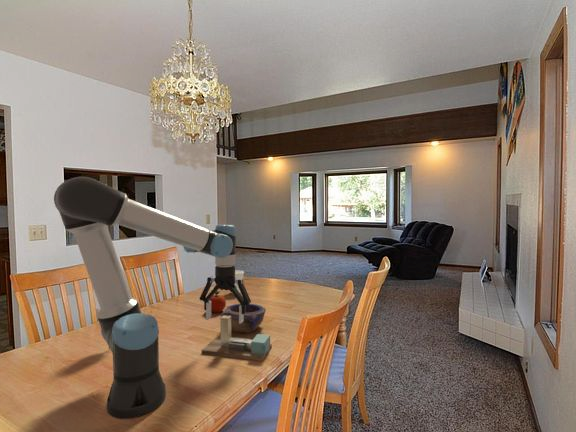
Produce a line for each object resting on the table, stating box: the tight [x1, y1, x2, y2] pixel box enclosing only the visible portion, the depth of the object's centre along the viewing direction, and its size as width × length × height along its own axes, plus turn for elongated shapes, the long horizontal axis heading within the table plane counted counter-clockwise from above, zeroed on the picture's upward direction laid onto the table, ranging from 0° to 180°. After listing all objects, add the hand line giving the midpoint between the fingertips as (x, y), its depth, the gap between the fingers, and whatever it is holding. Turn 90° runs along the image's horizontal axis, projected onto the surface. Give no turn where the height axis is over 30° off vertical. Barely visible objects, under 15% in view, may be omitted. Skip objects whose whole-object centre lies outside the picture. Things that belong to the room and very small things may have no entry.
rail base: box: [201, 336, 273, 362], centre depth 122 cm, size 11×24×4 cm, turn 76°
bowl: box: [220, 303, 266, 334], centre depth 142 cm, size 18×18×10 cm
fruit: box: [209, 290, 227, 313], centre depth 166 cm, size 10×10×10 cm
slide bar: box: [219, 315, 253, 350], centre depth 121 cm, size 3×17×11 cm, turn 76°
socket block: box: [251, 333, 271, 355], centre depth 120 cm, size 7×5×4 cm
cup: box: [230, 269, 245, 294], centre depth 199 cm, size 10×10×13 cm
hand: (224, 320), depth 122 cm, fingers open, 13 cm apart
